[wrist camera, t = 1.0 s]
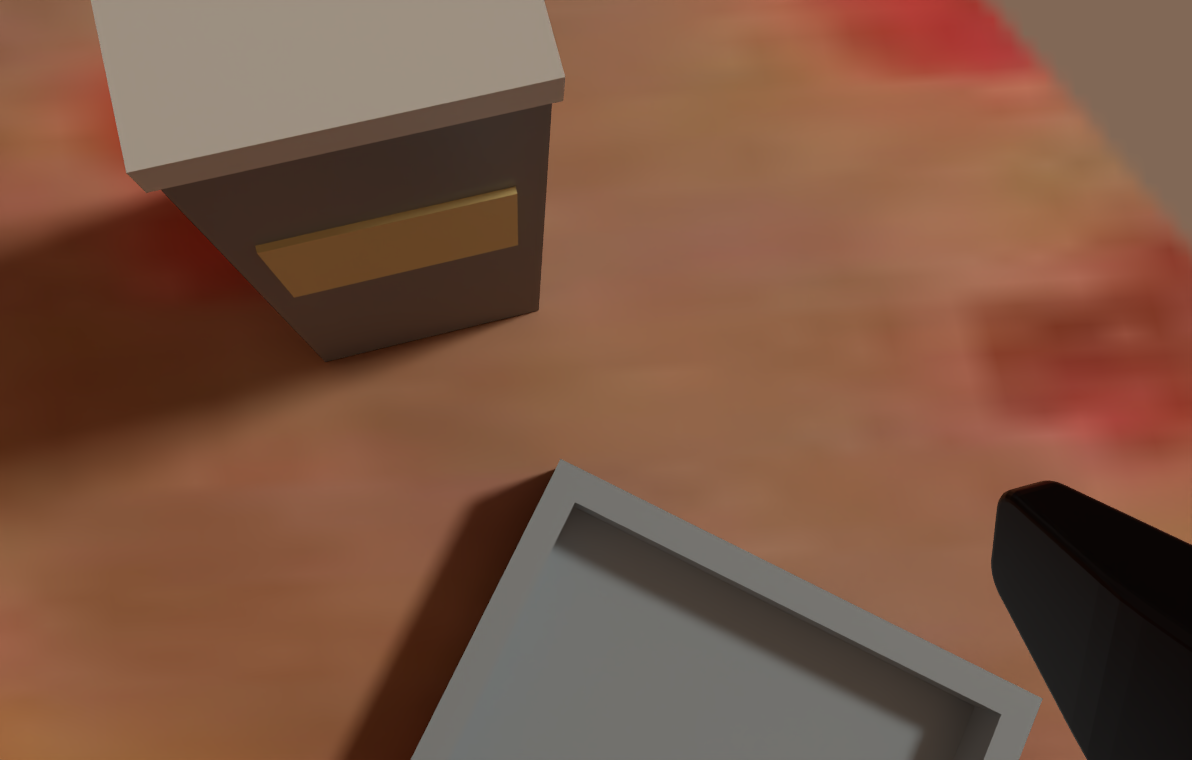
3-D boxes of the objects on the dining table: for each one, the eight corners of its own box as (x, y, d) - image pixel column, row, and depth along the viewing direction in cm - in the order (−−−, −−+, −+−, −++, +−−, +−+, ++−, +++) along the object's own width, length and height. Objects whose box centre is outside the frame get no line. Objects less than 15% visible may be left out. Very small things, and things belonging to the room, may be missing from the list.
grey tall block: (544, 314, 22) (565, 77, 12) (322, 368, 22) (126, 174, 11) (490, 107, 23) (462, -296, 12) (272, 155, 23) (45, -223, 12)
